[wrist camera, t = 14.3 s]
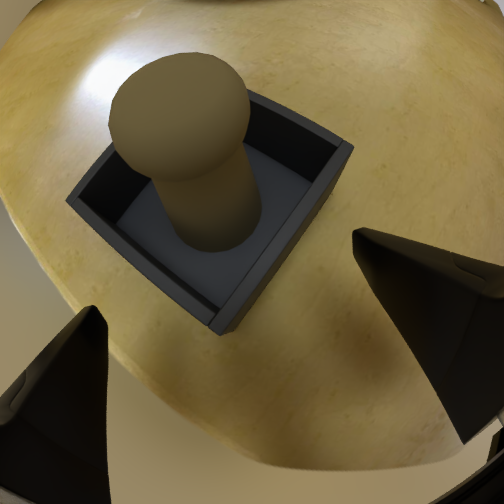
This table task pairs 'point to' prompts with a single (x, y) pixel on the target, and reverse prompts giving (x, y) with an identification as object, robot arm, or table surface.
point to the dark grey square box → (240, 257)
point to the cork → (191, 146)
